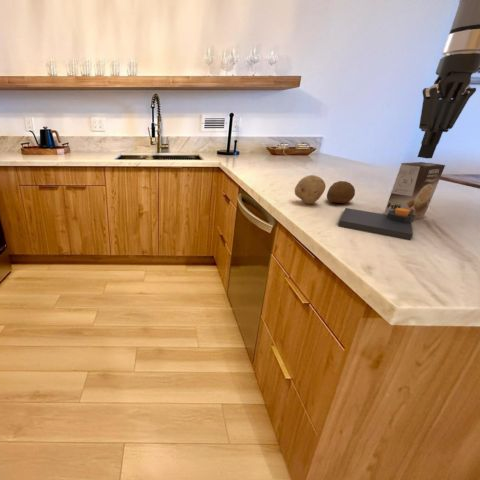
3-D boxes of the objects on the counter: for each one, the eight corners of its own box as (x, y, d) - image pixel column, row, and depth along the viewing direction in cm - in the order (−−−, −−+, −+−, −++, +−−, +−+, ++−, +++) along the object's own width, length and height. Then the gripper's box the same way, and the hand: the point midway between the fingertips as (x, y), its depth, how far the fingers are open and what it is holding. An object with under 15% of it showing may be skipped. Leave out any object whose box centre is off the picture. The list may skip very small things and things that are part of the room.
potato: (355, 201, 103) (361, 179, 100) (348, 209, 95) (354, 186, 91) (330, 197, 108) (335, 176, 105) (321, 204, 99) (326, 182, 96)
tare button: (407, 214, 81) (409, 209, 80) (408, 217, 79) (410, 212, 78) (394, 212, 82) (396, 207, 82) (394, 215, 80) (396, 209, 80)
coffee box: (404, 222, 84) (425, 166, 77) (382, 215, 89) (400, 163, 82) (424, 218, 87) (446, 164, 80) (401, 212, 92) (420, 161, 85)
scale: (410, 224, 82) (414, 212, 81) (412, 241, 72) (417, 228, 70) (344, 213, 91) (347, 202, 90) (337, 226, 81) (341, 214, 79)
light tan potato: (296, 207, 97) (302, 177, 93) (289, 199, 105) (294, 172, 101) (324, 208, 96) (332, 178, 92) (315, 200, 104) (321, 173, 100)
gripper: (456, 51, 63) (417, 160, 73) (504, 52, 65) (460, 159, 75) (423, 56, 70) (391, 156, 80) (467, 57, 72) (431, 155, 81)
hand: (424, 157), depth 77 cm, fingers closed
